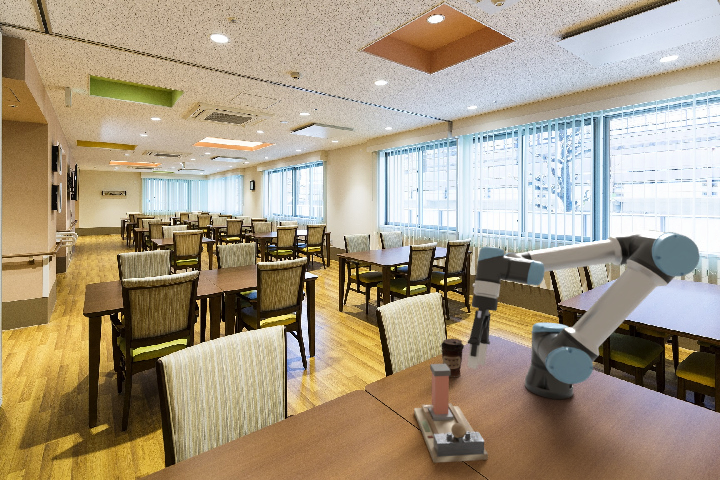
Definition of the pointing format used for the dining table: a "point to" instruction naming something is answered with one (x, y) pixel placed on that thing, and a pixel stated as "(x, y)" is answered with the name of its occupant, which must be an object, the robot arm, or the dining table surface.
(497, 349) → the dining table surface
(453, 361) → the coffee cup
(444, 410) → the handle
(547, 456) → the dining table surface
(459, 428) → the brown ball
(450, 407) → the cream base plate
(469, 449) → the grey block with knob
